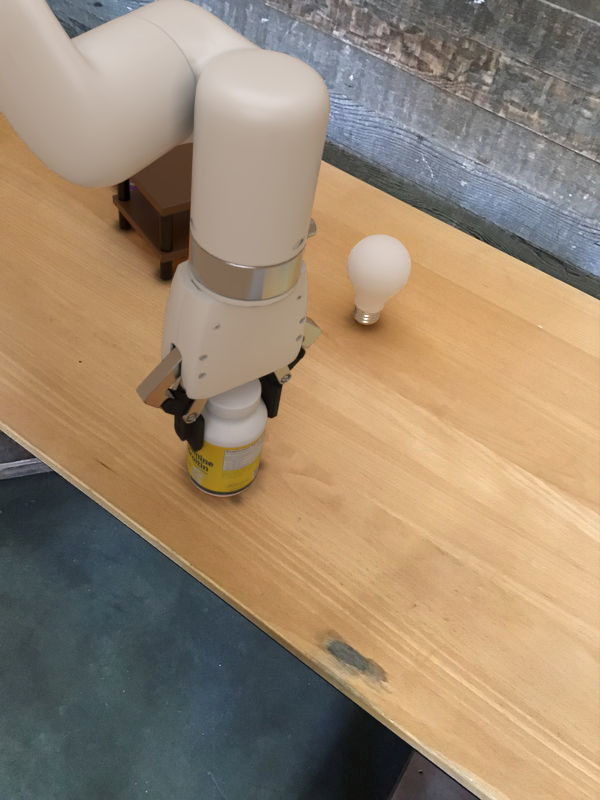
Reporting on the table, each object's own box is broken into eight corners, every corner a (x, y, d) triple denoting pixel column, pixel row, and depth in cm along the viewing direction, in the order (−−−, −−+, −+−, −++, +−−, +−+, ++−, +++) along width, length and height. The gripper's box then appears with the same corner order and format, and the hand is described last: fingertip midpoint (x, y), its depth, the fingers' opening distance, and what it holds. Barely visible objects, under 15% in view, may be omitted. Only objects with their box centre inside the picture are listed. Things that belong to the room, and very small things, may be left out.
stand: (162, 284, 84) (162, 208, 76) (113, 224, 89) (109, 147, 82) (268, 250, 90) (277, 177, 83) (216, 196, 96) (220, 123, 88)
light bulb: (355, 292, 87) (375, 212, 79) (404, 320, 85) (430, 241, 77) (323, 321, 83) (340, 240, 75) (373, 351, 81) (397, 271, 73)
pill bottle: (186, 440, 70) (190, 353, 61) (255, 441, 71) (269, 356, 62) (185, 500, 66) (190, 416, 57) (259, 500, 67) (275, 418, 58)
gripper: (319, 191, 56) (287, 358, 69) (97, 254, 48) (110, 429, 61) (382, 250, 52) (335, 415, 65) (154, 329, 44) (155, 498, 57)
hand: (227, 421), depth 63 cm, fingers closed on pill bottle, 6 cm apart
